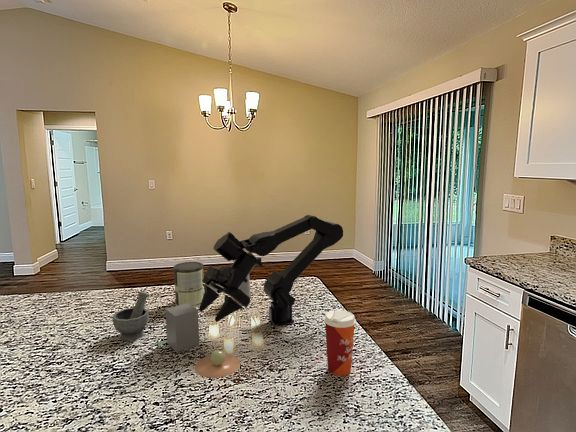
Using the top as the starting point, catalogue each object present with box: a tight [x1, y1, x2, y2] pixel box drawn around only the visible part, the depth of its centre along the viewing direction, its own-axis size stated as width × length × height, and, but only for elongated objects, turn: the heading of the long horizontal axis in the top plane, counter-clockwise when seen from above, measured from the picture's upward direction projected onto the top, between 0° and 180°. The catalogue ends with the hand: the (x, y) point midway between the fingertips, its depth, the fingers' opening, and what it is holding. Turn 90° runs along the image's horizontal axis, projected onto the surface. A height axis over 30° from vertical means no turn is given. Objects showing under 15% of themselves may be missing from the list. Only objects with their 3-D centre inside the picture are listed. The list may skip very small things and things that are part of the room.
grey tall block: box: [164, 303, 200, 353], centre depth 102 cm, size 6×6×11 cm
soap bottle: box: [239, 273, 252, 299], centre depth 138 cm, size 7×7×18 cm
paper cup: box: [323, 309, 357, 377], centre depth 92 cm, size 8×8×14 cm
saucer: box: [194, 349, 241, 379], centre depth 92 cm, size 11×11×5 cm
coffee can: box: [172, 261, 204, 308], centre depth 136 cm, size 10×10×14 cm
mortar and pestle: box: [112, 291, 150, 342], centre depth 111 cm, size 11×9×12 cm
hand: (207, 315), depth 107 cm, fingers open, 9 cm apart
